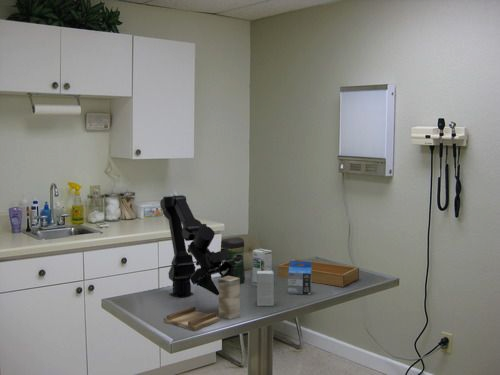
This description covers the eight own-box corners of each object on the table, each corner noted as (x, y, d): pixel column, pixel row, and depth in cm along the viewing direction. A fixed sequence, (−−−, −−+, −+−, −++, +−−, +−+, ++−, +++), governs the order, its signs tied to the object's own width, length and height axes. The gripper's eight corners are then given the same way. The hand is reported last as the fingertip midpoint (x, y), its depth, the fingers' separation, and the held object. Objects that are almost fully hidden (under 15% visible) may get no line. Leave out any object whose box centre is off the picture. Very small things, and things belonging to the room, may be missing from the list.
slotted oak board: (163, 321, 190) (163, 314, 190) (188, 312, 200) (188, 305, 200) (195, 331, 182) (195, 323, 182) (219, 321, 192) (219, 313, 191)
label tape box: (287, 294, 223) (287, 262, 222) (288, 291, 227) (289, 260, 226) (310, 295, 222) (311, 263, 221) (311, 292, 226) (311, 261, 225)
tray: (277, 277, 250) (278, 264, 249) (295, 270, 262) (295, 258, 262) (343, 288, 232) (343, 275, 232) (358, 280, 245) (359, 267, 244)
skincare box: (273, 302, 212) (273, 270, 211) (273, 306, 208) (274, 273, 207) (256, 302, 212) (256, 270, 211) (256, 306, 208) (257, 273, 206)
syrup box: (251, 285, 235) (252, 250, 234) (261, 282, 239) (261, 247, 238) (262, 288, 231) (262, 252, 230) (272, 285, 236) (272, 249, 234)
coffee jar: (236, 278, 246) (236, 235, 244) (247, 282, 239) (248, 238, 237) (217, 282, 240) (217, 237, 238) (228, 286, 233) (228, 240, 232)
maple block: (218, 316, 196) (218, 278, 195) (228, 312, 200) (228, 275, 199) (230, 319, 193) (230, 281, 192) (239, 315, 197) (239, 278, 196)
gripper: (196, 245, 191) (222, 283, 185) (232, 237, 205) (257, 272, 200) (179, 265, 196) (204, 303, 191) (215, 256, 211) (239, 290, 205)
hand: (227, 291), depth 196 cm, fingers open, 9 cm apart
